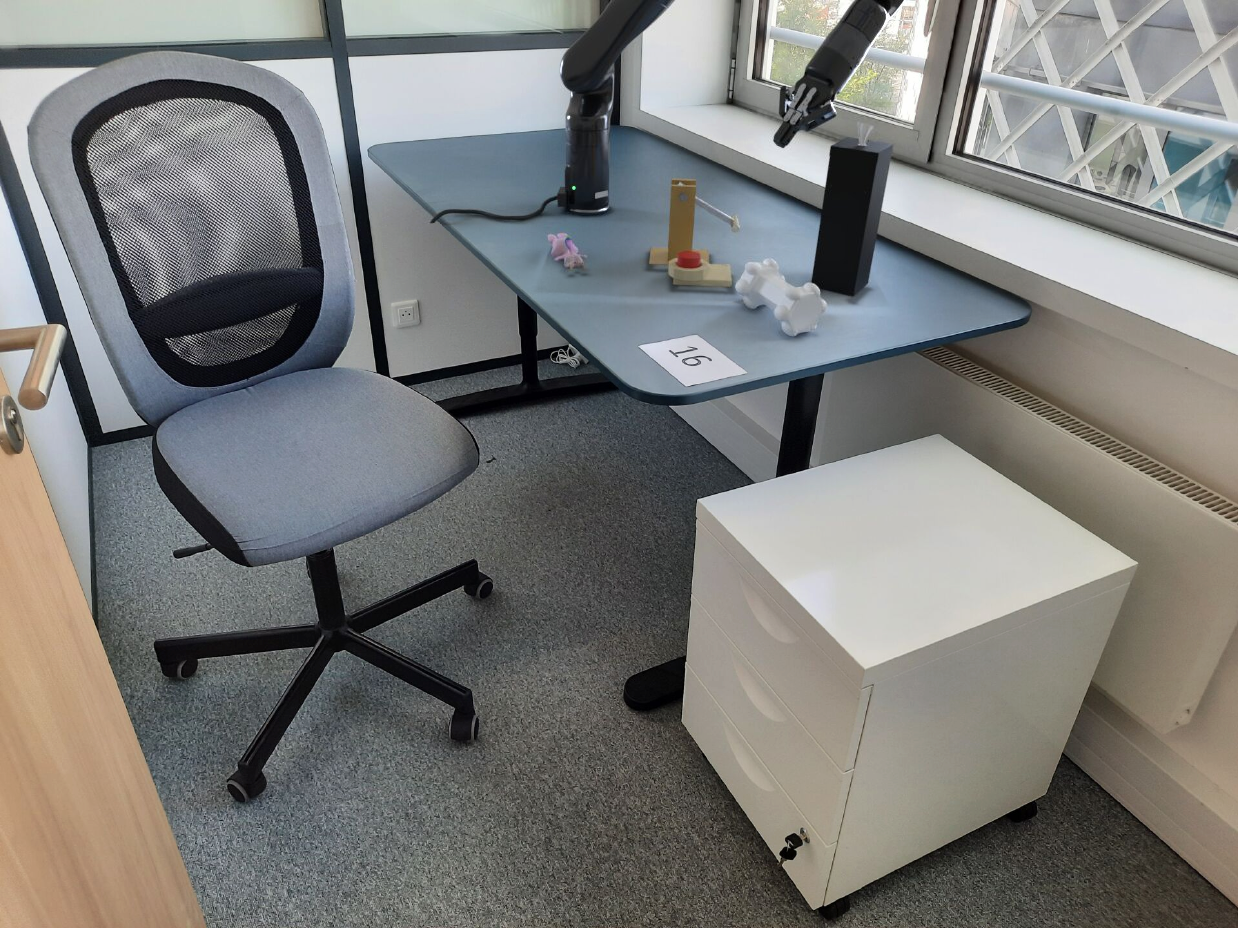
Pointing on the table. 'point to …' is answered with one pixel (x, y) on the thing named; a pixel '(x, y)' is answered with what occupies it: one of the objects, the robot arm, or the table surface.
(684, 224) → the bracket
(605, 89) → the robot arm
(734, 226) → the tap lever
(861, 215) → the tissue box
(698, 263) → the button
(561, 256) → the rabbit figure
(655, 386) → the table surface
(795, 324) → the dog bone
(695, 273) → the button box
